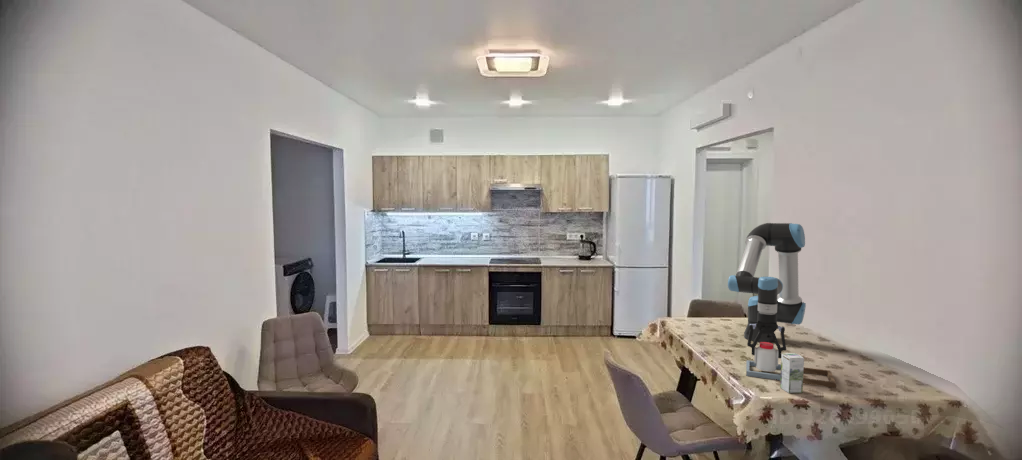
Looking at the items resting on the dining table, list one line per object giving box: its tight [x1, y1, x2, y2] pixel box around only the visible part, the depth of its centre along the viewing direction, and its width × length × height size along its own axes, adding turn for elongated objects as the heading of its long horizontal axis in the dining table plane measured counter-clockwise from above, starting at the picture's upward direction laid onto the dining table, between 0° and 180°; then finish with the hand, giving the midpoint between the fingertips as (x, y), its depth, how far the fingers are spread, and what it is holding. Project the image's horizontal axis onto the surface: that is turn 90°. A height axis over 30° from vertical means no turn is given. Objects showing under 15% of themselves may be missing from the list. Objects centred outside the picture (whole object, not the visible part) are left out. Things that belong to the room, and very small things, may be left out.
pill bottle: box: [755, 342, 777, 372], centre depth 211 cm, size 8×8×11 cm
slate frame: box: [745, 359, 781, 381], centre depth 211 cm, size 15×15×2 cm
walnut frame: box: [803, 366, 837, 389], centre depth 204 cm, size 15×15×2 cm
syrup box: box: [779, 352, 805, 394], centre depth 191 cm, size 6×6×14 cm
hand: (766, 363), depth 211 cm, fingers closed on pill bottle, 8 cm apart
